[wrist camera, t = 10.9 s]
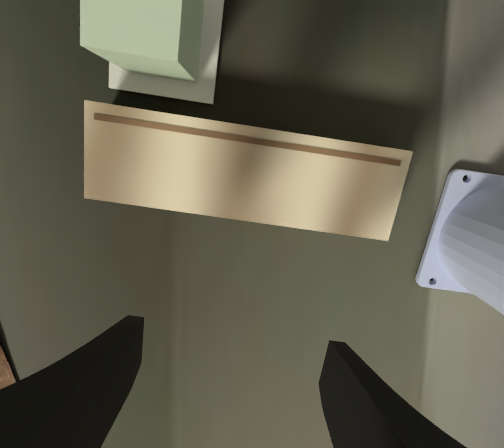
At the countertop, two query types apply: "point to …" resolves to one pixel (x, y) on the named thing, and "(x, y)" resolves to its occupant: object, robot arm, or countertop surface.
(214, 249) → the countertop surface
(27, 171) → the countertop surface
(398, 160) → the ash board
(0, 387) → the wooden fragment
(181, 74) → the block
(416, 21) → the countertop surface
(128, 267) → the countertop surface
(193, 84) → the grey pad
